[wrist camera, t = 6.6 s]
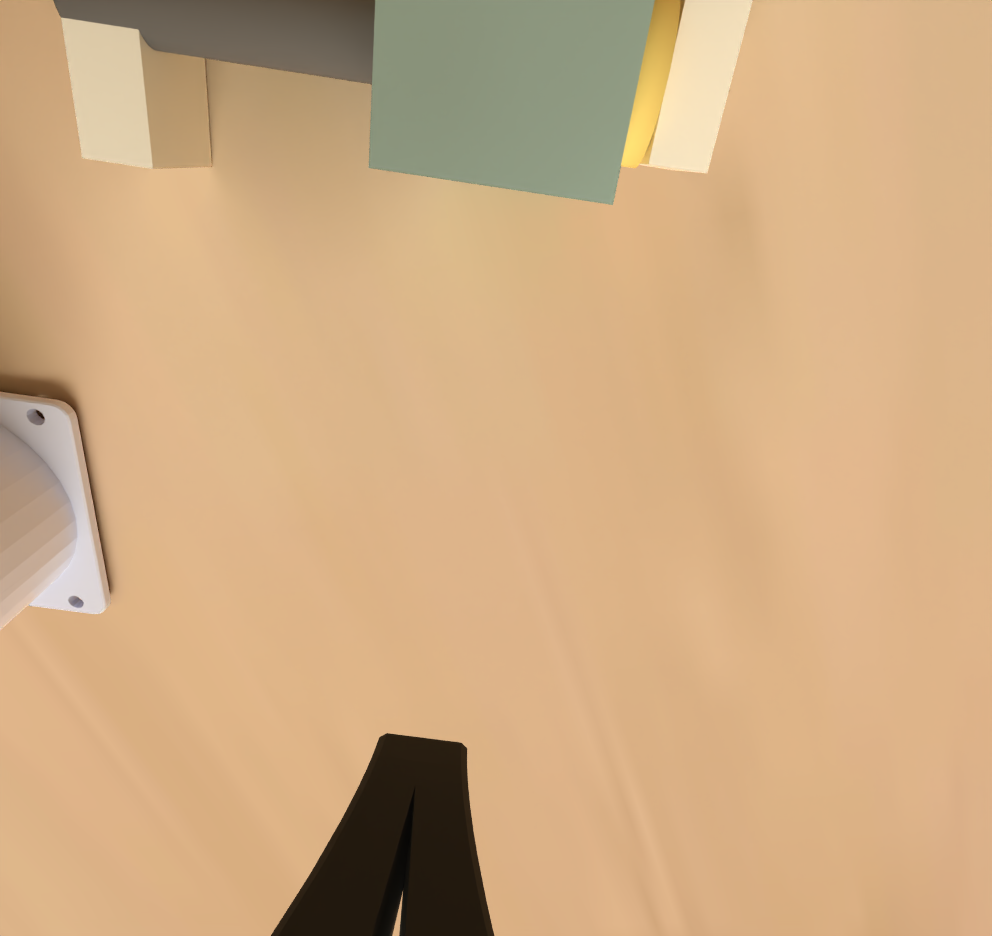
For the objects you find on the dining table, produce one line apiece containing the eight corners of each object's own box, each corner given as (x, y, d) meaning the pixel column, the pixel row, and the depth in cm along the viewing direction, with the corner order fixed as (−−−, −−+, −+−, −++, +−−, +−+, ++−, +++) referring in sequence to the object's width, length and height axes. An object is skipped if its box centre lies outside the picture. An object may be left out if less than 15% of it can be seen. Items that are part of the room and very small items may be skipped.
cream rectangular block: (152, 157, 16) (81, 158, 13) (119, -160, 13) (22, -236, 10) (211, 166, 16) (153, 169, 13) (191, -149, 13) (112, -221, 10)
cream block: (625, 162, 15) (648, 164, 12) (655, 15, 14) (689, -22, 11) (672, 170, 15) (707, 173, 12) (707, 24, 14) (755, -11, 11)
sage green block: (422, 163, 15) (368, 167, 10) (439, -63, 13) (383, -207, 8) (582, 188, 15) (612, 205, 10) (622, -34, 13) (686, -157, 8)
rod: (131, 91, 14) (35, 76, 12) (112, -84, 13) (-3, -152, 10) (677, 175, 15) (714, 179, 12) (716, 12, 13) (769, -26, 11)
